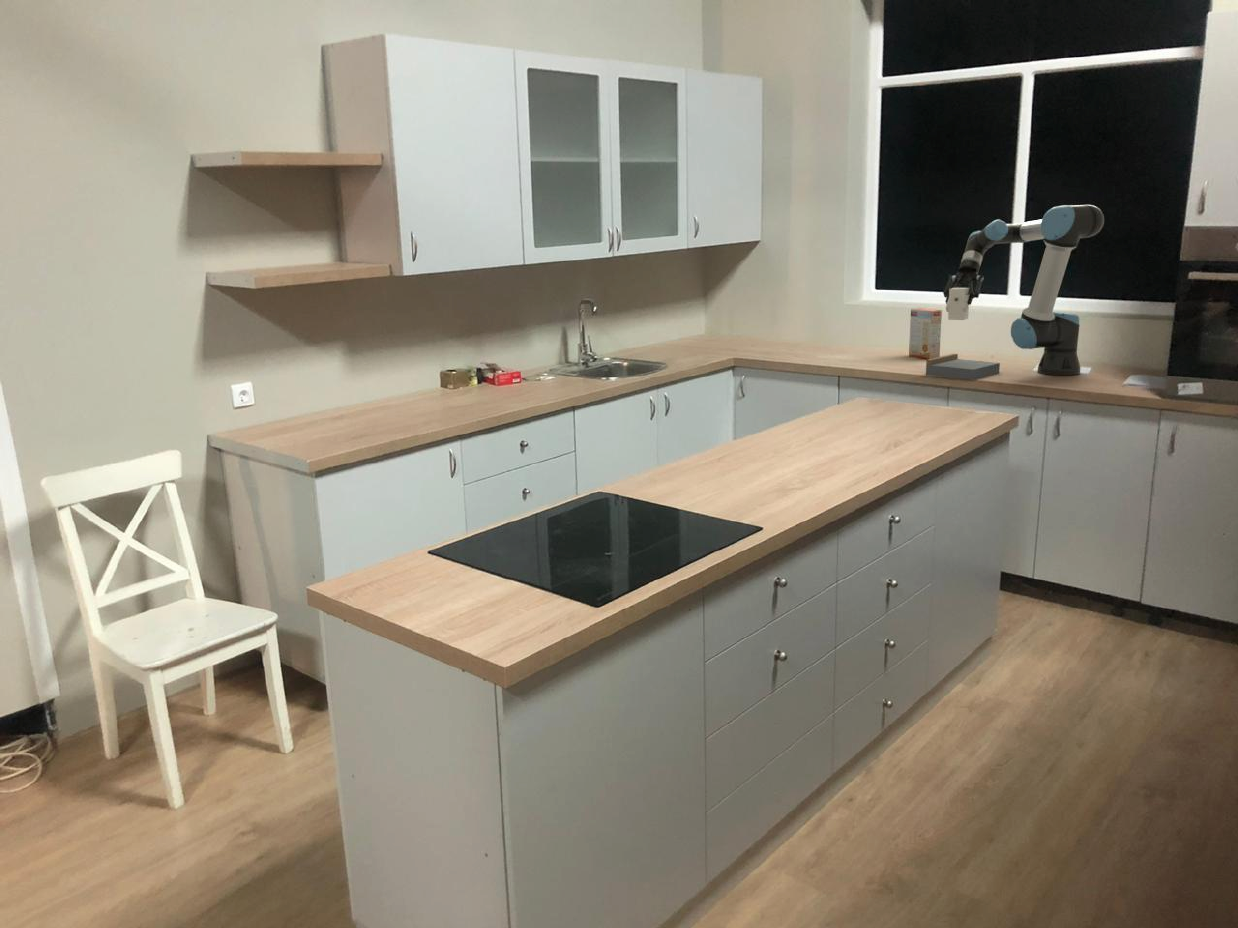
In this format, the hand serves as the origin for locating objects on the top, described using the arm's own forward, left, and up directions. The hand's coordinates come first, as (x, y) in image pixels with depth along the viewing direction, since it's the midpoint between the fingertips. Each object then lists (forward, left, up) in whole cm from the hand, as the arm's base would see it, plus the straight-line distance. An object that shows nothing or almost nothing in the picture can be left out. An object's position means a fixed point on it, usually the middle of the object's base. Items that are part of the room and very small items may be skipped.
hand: (955, 310), depth 383 cm
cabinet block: (+1, -4, -4) cm, 5 cm away
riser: (-5, +2, -25) cm, 25 cm away
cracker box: (+30, -28, -25) cm, 48 cm away
